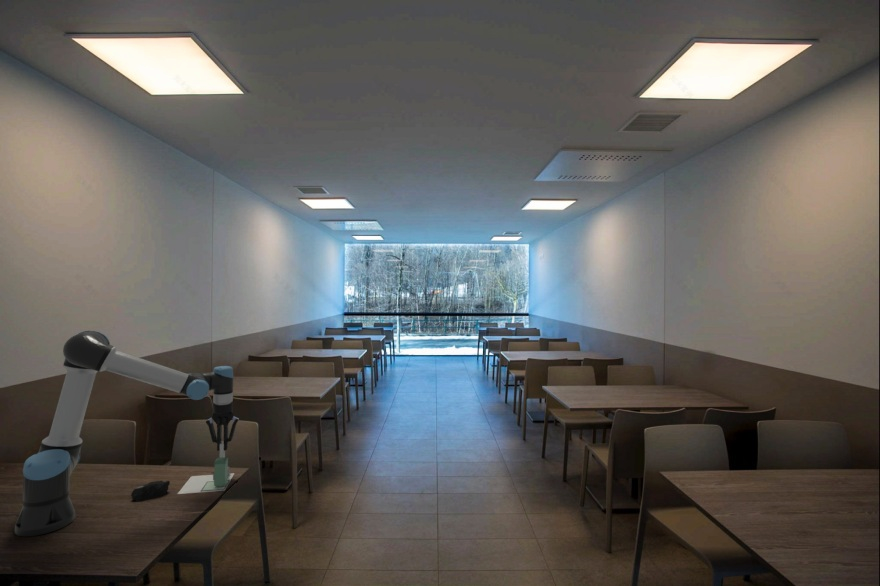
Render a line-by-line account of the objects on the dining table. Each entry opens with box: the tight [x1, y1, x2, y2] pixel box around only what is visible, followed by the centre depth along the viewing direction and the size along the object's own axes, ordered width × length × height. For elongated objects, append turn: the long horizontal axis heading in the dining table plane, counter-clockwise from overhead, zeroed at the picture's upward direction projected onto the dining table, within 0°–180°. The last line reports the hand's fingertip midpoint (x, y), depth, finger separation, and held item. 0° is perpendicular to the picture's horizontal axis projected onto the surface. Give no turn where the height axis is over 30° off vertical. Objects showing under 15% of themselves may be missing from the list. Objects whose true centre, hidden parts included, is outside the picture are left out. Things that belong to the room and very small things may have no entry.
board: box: [177, 472, 235, 495], centre depth 180 cm, size 17×17×1 cm
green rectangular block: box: [213, 456, 229, 487], centre depth 177 cm, size 4×4×11 cm
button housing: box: [212, 466, 231, 480], centre depth 186 cm, size 5×5×3 cm
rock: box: [130, 480, 171, 502], centre depth 167 cm, size 10×9×6 cm
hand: (222, 457), depth 186 cm, fingers closed
